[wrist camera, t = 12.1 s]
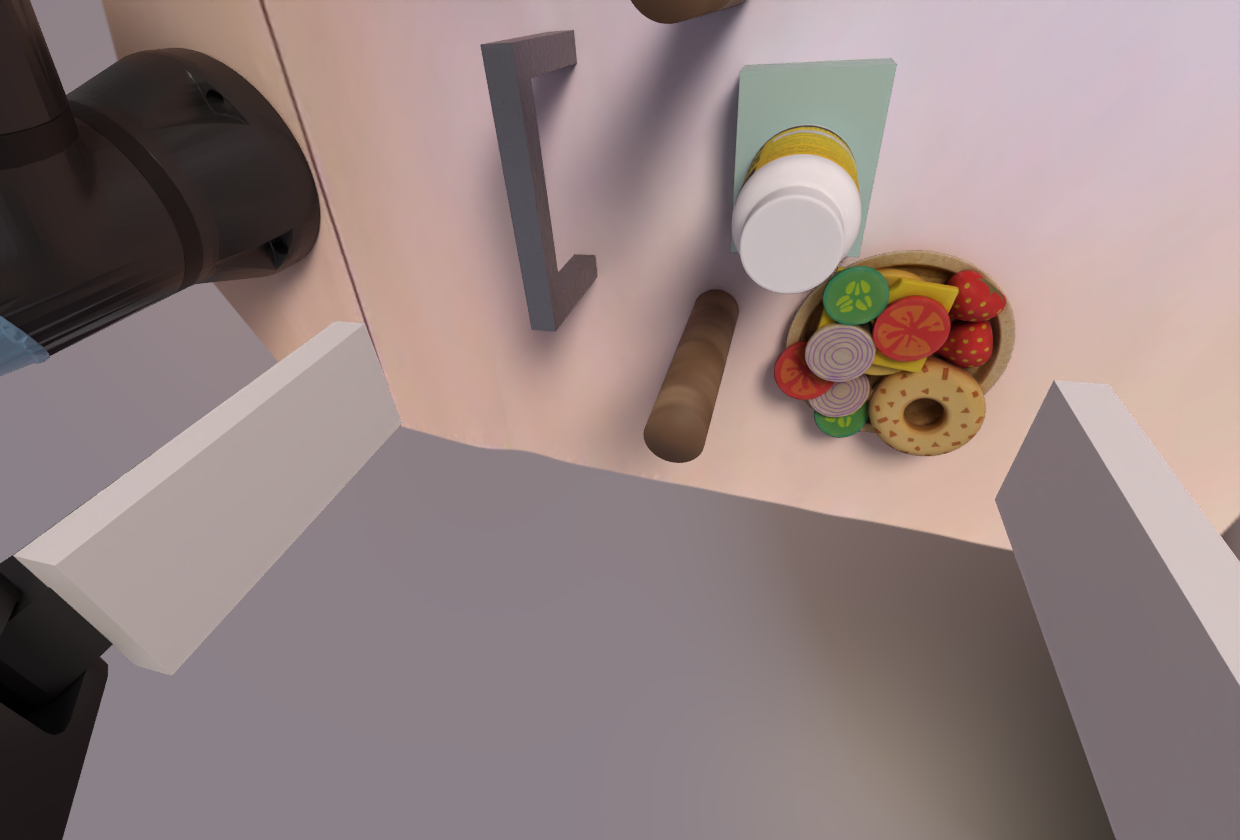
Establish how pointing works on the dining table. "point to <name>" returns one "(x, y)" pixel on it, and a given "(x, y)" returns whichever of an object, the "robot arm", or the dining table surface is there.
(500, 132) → the rail hurdle
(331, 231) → the dining table surface
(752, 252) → the supplement bottle
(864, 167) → the stand
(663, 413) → the post far
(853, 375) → the toy food set
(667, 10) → the post near
